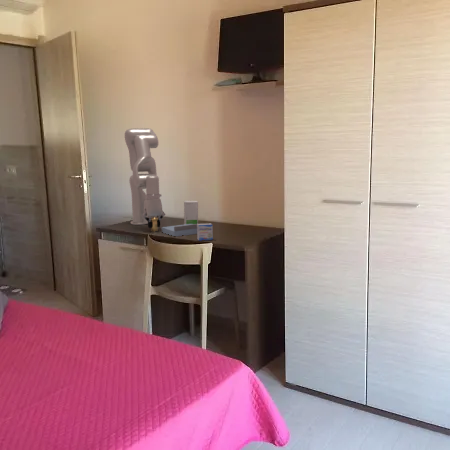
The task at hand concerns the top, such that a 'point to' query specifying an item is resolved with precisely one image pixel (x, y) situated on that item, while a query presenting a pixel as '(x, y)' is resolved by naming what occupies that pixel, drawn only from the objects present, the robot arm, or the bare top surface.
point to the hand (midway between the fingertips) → (154, 227)
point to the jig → (181, 229)
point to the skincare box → (190, 212)
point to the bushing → (154, 224)
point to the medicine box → (204, 231)
